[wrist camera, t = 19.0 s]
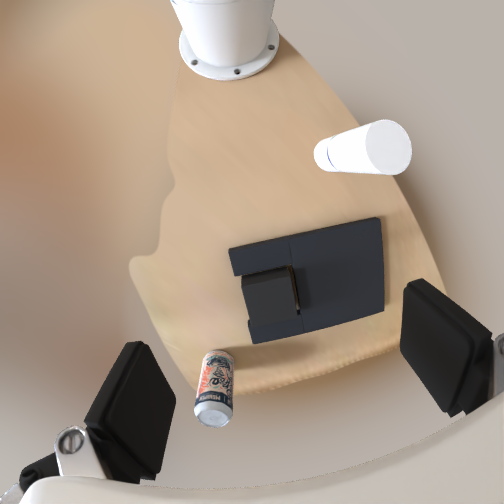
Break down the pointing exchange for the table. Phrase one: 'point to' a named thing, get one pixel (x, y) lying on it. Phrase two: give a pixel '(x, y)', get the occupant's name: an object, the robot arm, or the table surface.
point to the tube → (366, 150)
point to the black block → (269, 296)
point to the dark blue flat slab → (321, 275)
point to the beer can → (215, 390)
